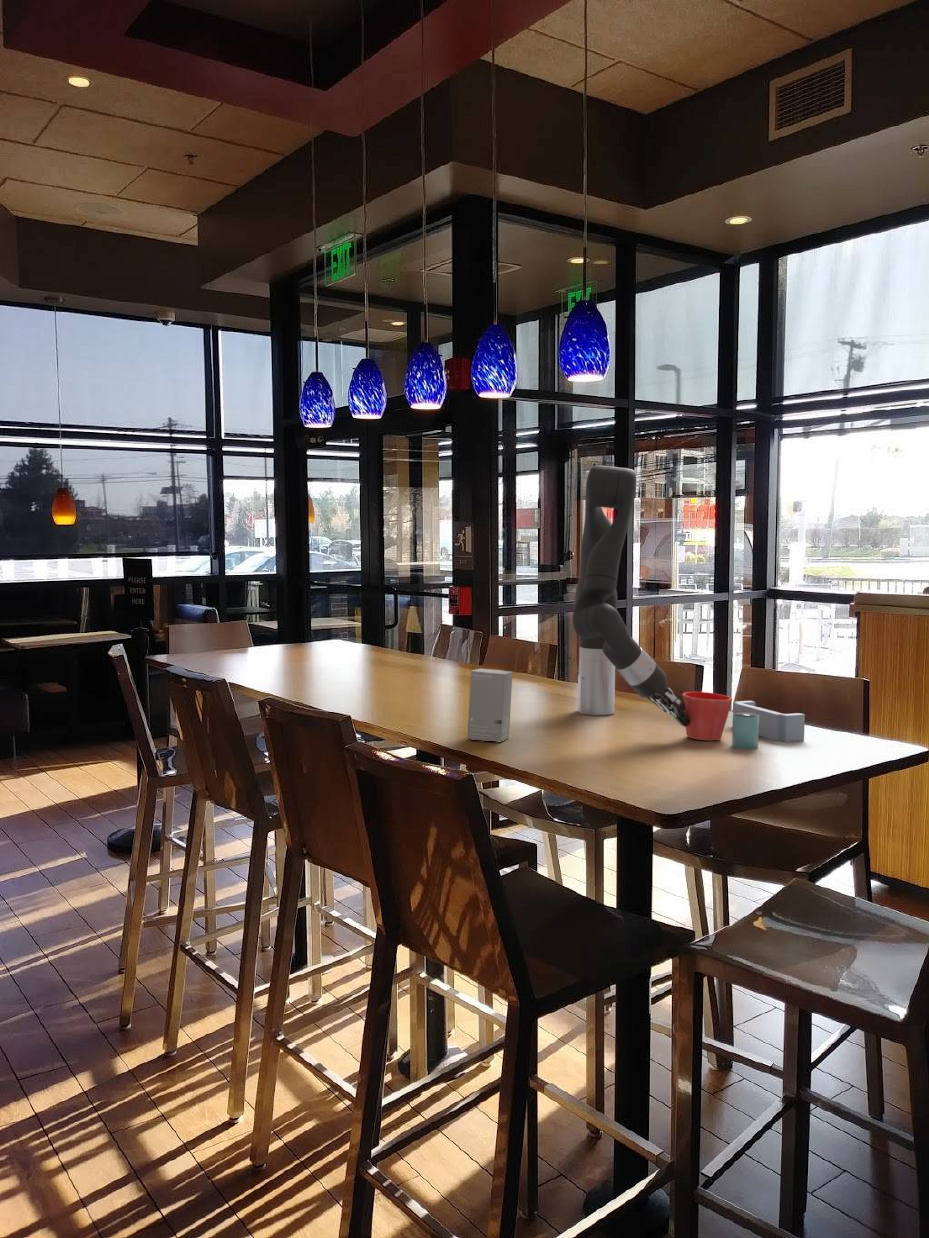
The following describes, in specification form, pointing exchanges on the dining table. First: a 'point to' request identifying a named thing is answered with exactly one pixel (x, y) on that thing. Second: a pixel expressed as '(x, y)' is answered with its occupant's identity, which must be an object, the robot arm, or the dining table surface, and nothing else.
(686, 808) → the dining table surface
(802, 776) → the dining table surface
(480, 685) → the skincare box
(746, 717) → the tumbler
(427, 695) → the dining table surface
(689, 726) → the flower pot
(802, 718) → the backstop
